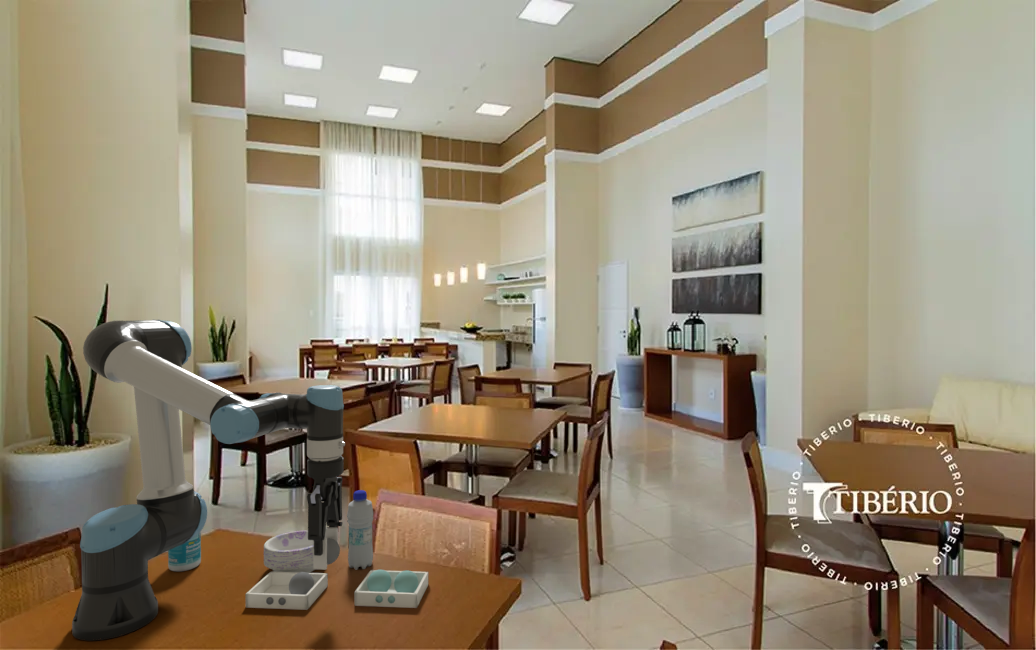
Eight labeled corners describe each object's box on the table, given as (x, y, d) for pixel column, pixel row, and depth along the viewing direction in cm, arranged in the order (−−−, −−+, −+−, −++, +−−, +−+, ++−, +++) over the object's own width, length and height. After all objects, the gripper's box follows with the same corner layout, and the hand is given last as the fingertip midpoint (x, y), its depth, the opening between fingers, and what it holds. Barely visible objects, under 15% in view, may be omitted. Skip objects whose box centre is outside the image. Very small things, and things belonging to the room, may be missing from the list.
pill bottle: (190, 572, 148) (190, 520, 147) (161, 572, 148) (161, 520, 148) (206, 560, 155) (206, 510, 155) (179, 560, 155) (178, 510, 155)
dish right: (354, 608, 130) (354, 592, 130) (370, 584, 141) (370, 570, 141) (416, 610, 129) (416, 594, 129) (428, 586, 140) (428, 571, 140)
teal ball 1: (363, 599, 133) (363, 575, 133) (371, 587, 138) (371, 565, 138) (387, 600, 132) (387, 576, 132) (394, 588, 138) (394, 565, 138)
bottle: (366, 573, 147) (366, 495, 147) (342, 571, 148) (341, 493, 148) (378, 562, 154) (377, 487, 153) (355, 560, 155) (354, 485, 155)
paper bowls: (304, 553, 160) (304, 524, 160) (339, 567, 151) (339, 536, 151) (251, 573, 148) (251, 542, 147) (286, 589, 139) (285, 556, 138)
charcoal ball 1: (284, 602, 132) (284, 578, 131) (295, 590, 137) (295, 567, 137) (307, 602, 131) (307, 578, 131) (318, 591, 137) (317, 568, 137)
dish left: (245, 610, 129) (244, 594, 129) (270, 585, 141) (270, 571, 140) (306, 612, 128) (306, 596, 128) (327, 587, 139) (327, 573, 139)
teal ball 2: (391, 600, 132) (391, 576, 132) (398, 588, 138) (397, 565, 138) (415, 601, 132) (414, 577, 132) (420, 589, 137) (420, 566, 137)
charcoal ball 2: (309, 569, 124) (308, 543, 124) (320, 558, 130) (319, 533, 130) (334, 569, 124) (333, 544, 124) (343, 558, 129) (343, 534, 129)
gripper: (324, 468, 117) (325, 582, 117) (357, 447, 135) (357, 546, 136) (288, 467, 117) (289, 581, 118) (325, 446, 136) (326, 545, 136)
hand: (326, 562), depth 127 cm, fingers closed on charcoal ball 2, 5 cm apart
